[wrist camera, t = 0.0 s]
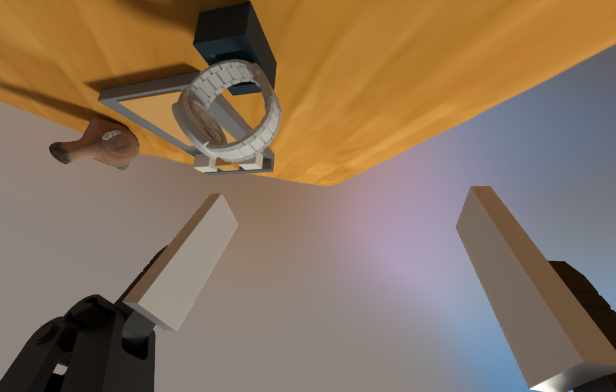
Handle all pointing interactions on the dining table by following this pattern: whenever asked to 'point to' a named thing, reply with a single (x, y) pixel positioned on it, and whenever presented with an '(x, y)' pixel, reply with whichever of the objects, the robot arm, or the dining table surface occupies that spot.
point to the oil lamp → (100, 145)
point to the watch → (229, 82)
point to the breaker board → (160, 120)
